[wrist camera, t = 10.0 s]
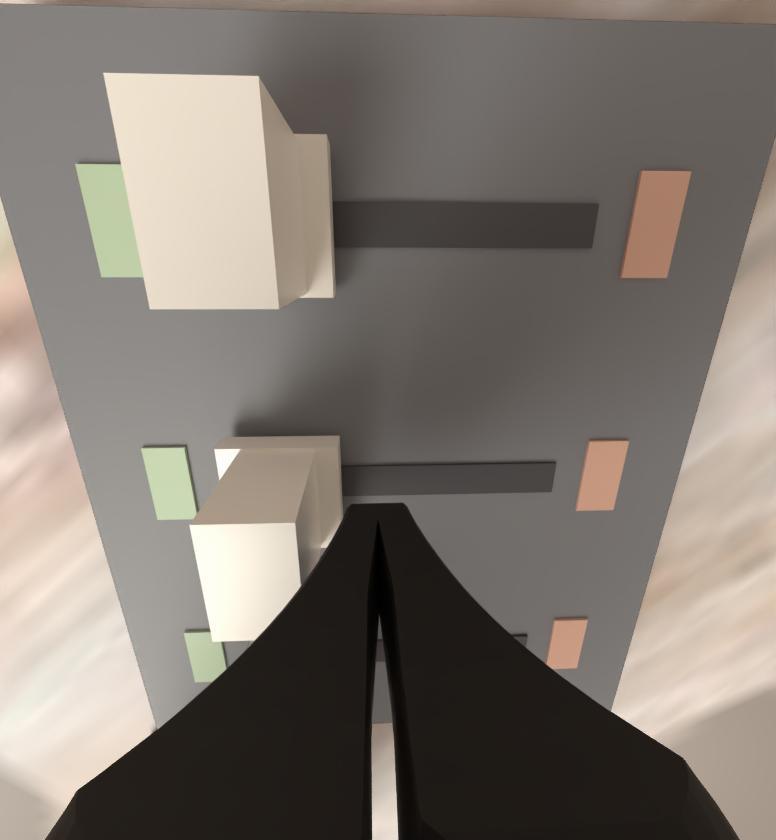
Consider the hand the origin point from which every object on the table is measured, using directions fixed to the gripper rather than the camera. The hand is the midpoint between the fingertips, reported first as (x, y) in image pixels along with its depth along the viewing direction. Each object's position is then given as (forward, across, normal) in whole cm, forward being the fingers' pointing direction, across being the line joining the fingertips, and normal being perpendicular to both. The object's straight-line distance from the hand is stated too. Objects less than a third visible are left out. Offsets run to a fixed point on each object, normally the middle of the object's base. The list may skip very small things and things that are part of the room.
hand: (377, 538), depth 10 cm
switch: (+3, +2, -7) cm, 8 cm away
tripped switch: (+3, +3, 0) cm, 4 cm away
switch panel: (+5, 0, 0) cm, 5 cm away
